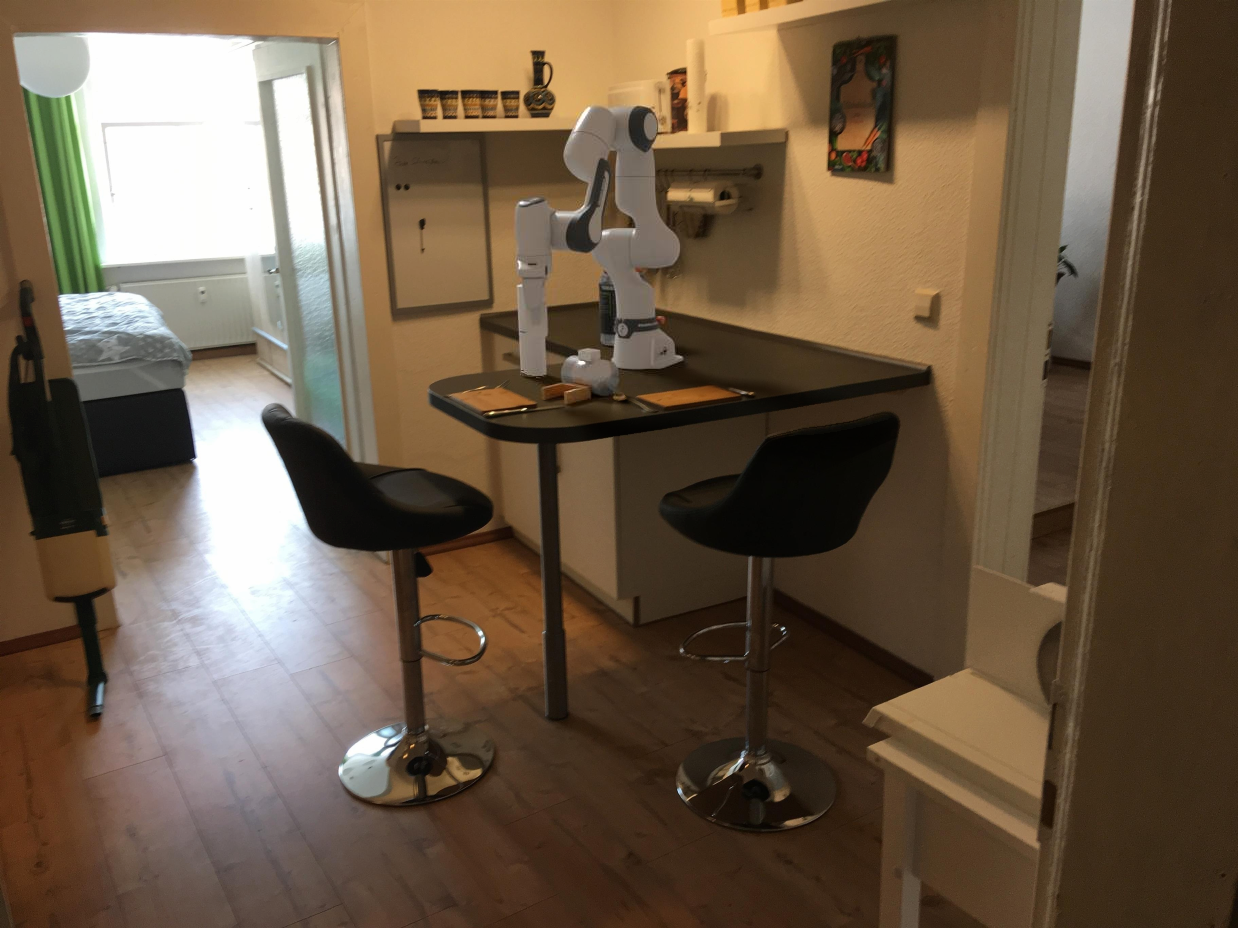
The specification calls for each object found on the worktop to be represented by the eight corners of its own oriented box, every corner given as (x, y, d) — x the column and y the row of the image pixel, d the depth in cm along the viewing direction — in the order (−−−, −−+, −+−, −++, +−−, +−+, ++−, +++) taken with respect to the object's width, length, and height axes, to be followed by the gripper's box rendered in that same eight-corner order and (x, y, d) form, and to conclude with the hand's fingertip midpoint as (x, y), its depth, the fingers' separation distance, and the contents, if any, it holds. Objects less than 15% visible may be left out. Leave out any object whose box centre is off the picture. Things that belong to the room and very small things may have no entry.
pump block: (528, 333, 253) (526, 302, 251) (548, 333, 253) (546, 301, 251) (526, 337, 249) (524, 304, 246) (546, 336, 248) (545, 304, 246)
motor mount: (585, 386, 266) (584, 345, 263) (619, 392, 258) (618, 350, 255) (537, 398, 253) (536, 355, 250) (571, 405, 246) (570, 360, 242)
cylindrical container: (529, 378, 277) (525, 287, 269) (516, 374, 282) (512, 285, 275) (551, 375, 281) (547, 285, 273) (537, 371, 286) (534, 283, 279)
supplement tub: (656, 345, 324) (656, 263, 316) (612, 349, 317) (611, 266, 310) (634, 337, 337) (633, 259, 330) (592, 342, 331) (590, 262, 323)
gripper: (525, 262, 256) (527, 316, 260) (517, 271, 236) (520, 329, 240) (549, 262, 256) (552, 316, 260) (544, 270, 236) (546, 329, 240)
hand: (536, 322), depth 250 cm, fingers closed on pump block, 5 cm apart
